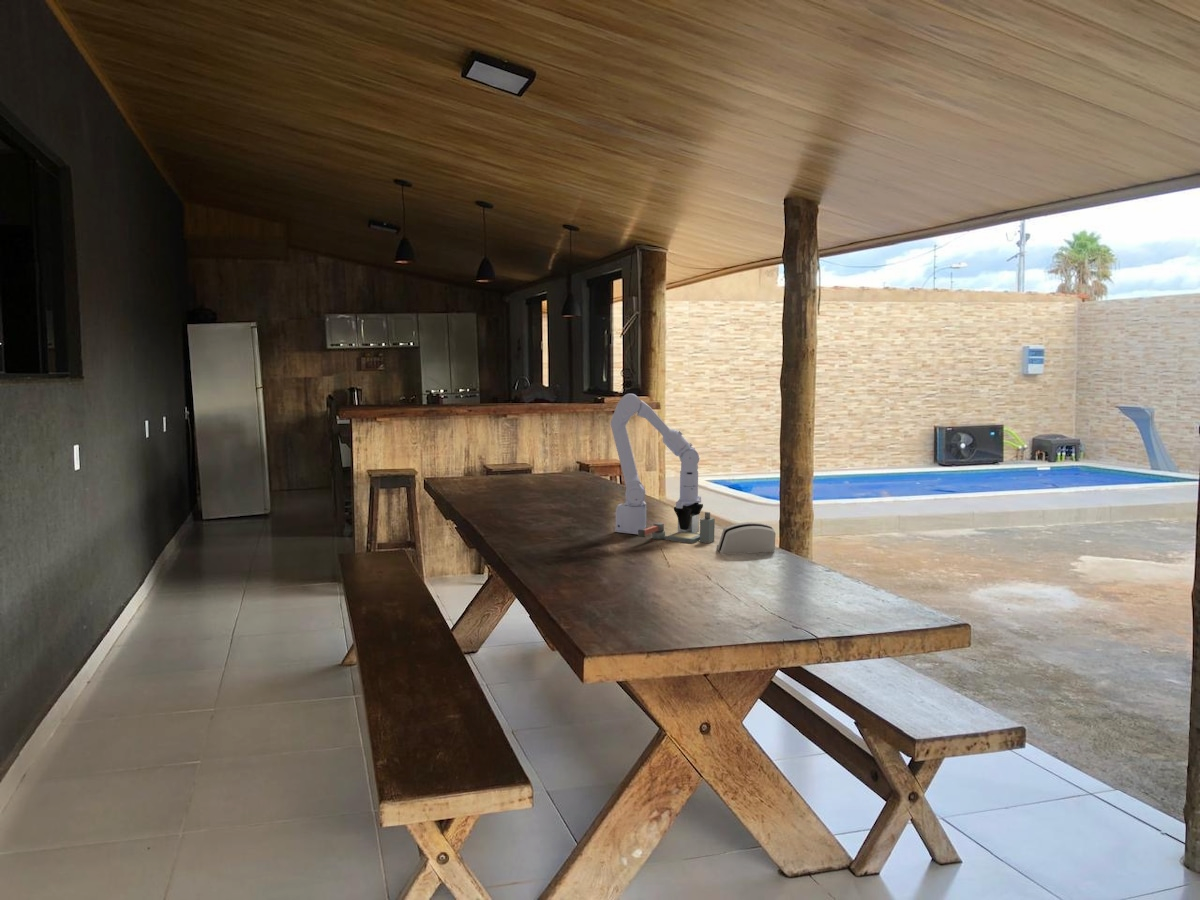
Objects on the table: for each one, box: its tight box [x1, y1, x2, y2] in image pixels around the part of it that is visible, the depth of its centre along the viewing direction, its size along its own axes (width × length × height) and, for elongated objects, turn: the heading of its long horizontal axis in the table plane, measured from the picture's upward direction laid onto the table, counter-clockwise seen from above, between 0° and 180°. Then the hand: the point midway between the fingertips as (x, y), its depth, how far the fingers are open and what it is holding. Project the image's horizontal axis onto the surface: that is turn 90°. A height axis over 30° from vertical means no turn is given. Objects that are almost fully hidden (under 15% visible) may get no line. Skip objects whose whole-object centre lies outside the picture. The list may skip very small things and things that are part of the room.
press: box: [651, 511, 716, 544], centre depth 287 cm, size 18×10×9 cm, turn 59°
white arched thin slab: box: [715, 521, 777, 555], centre depth 269 cm, size 17×5×10 cm, turn 105°
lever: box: [637, 522, 665, 538], centre depth 284 cm, size 3×14×2 cm, turn 149°
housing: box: [677, 513, 700, 534], centre depth 298 cm, size 5×5×6 cm
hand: (688, 527), depth 298 cm, fingers open, 6 cm apart
